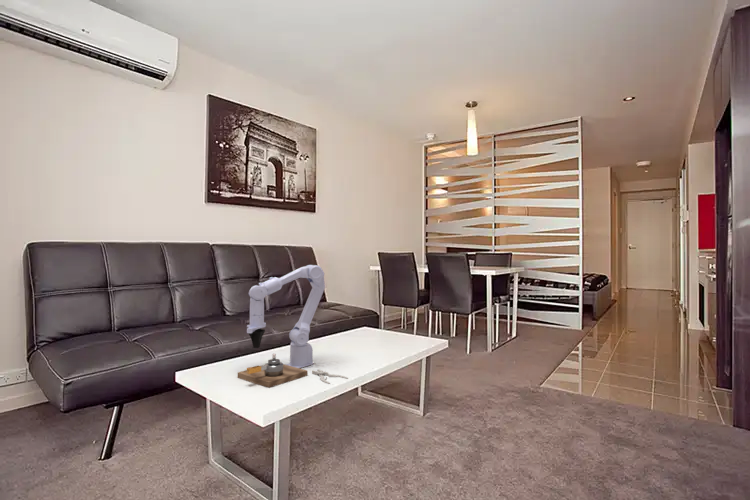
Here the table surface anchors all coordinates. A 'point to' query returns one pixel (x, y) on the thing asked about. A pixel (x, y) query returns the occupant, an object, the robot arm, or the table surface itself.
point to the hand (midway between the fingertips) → (256, 347)
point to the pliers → (326, 375)
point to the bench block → (270, 381)
